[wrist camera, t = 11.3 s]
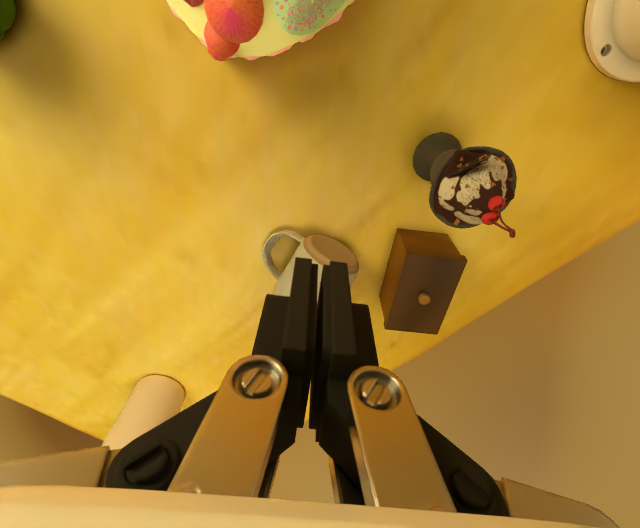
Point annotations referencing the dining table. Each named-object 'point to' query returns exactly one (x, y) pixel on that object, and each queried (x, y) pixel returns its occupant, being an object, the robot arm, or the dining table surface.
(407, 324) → the tea box
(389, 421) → the robot arm
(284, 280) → the ceramic mug
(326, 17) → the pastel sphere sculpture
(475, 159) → the sundae
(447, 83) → the dining table surface
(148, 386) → the milk bottle
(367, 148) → the dining table surface
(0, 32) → the bell pepper
